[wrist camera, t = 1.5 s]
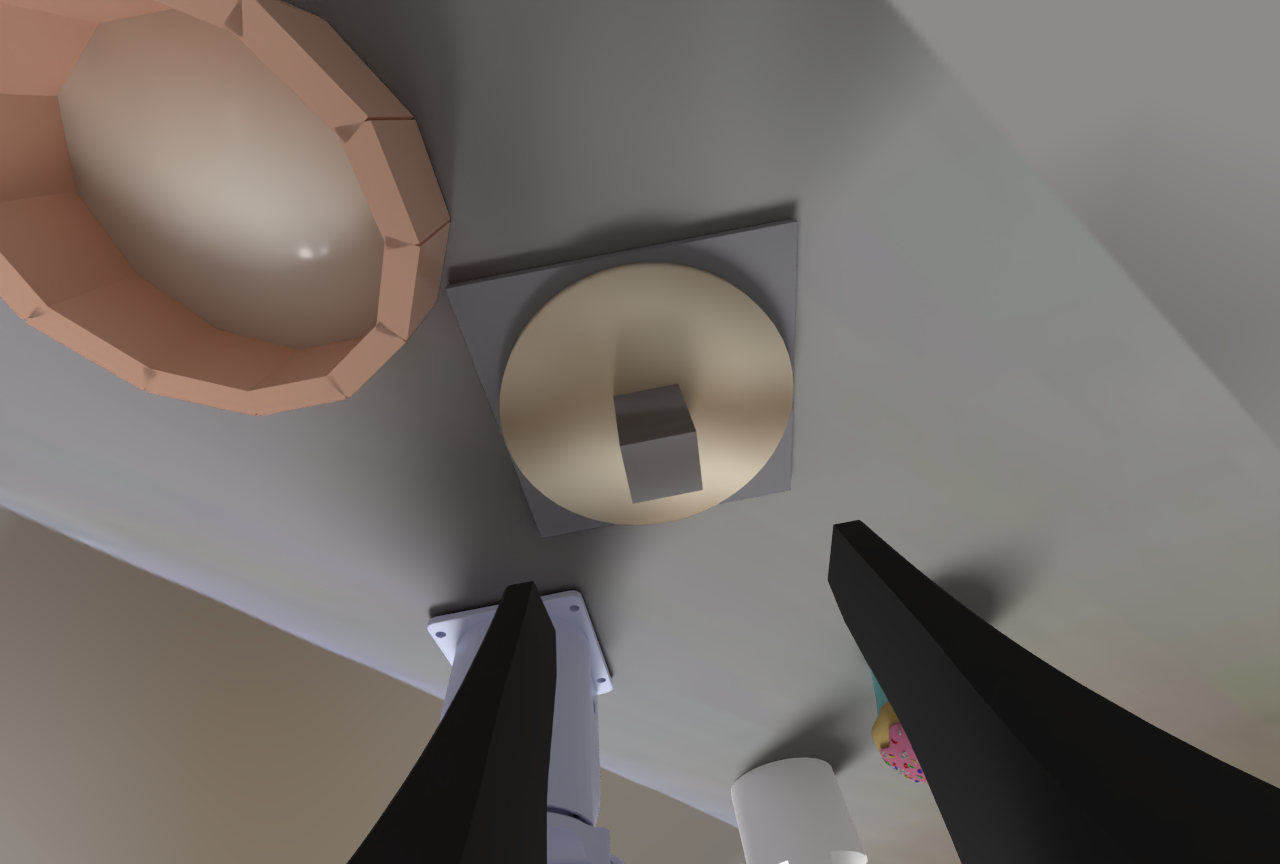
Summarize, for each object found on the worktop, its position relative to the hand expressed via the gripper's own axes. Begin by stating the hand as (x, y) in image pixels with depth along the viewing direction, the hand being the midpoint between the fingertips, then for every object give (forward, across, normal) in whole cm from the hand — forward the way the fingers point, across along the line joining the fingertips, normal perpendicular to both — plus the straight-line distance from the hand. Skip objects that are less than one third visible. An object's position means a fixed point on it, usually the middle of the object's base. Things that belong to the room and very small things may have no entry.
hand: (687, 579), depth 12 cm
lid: (+8, 0, 0) cm, 9 cm away
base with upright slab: (+9, -6, +40) cm, 42 cm away
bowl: (+9, +10, -9) cm, 16 cm away
